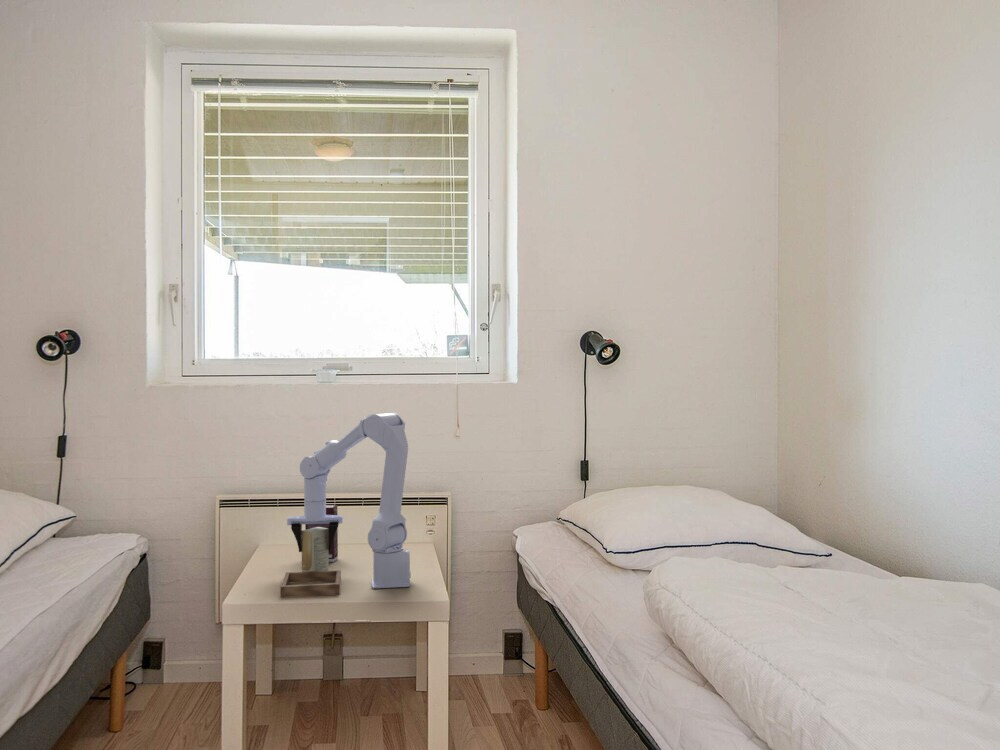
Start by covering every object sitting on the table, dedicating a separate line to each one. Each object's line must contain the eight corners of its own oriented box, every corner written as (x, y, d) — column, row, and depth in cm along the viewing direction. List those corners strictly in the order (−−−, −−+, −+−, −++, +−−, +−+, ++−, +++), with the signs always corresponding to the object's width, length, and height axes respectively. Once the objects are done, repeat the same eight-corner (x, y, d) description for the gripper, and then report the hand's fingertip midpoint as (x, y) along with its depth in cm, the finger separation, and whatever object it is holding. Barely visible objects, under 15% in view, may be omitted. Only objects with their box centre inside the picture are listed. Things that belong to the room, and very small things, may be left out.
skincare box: (318, 570, 212) (318, 526, 212) (329, 572, 210) (329, 528, 210) (300, 575, 207) (300, 529, 207) (311, 577, 204) (311, 531, 204)
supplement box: (338, 558, 226) (338, 504, 226) (334, 562, 222) (334, 507, 222) (309, 558, 227) (309, 504, 227) (304, 562, 222) (304, 507, 222)
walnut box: (340, 579, 203) (340, 570, 203) (339, 594, 189) (339, 584, 189) (285, 582, 200) (285, 572, 200) (280, 597, 186) (280, 586, 186)
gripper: (342, 497, 213) (342, 546, 213) (288, 499, 211) (288, 548, 211) (342, 501, 207) (342, 551, 206) (286, 503, 204) (286, 554, 204)
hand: (315, 550), depth 208 cm, fingers open, 7 cm apart
